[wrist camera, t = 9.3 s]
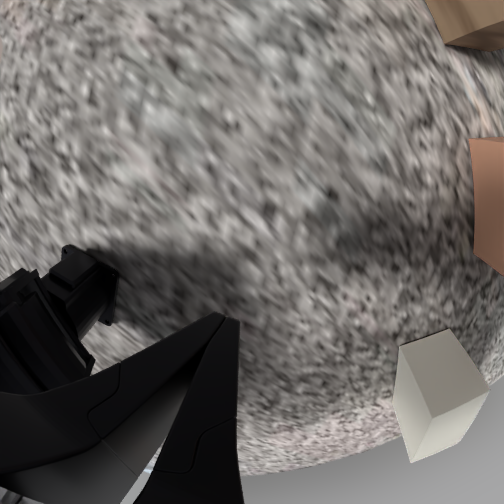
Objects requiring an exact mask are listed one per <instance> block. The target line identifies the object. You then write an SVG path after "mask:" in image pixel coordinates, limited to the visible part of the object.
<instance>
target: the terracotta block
mask: <svg viewBox="0 0 504 504" xmlns="http://www.w3.org/2000/svg"><path fill="white" fill-rule="evenodd" d="M469 144H470V152H471V160H472V170H473V183H474V206H475V227H474V250H473V254H475V255H476V256H478V257H479V258H480V259H482V260H483V261H484V262H486V263H487V264H488V265H490V266H491V267H492V268H493V269H495V270H496V271H497V272H498V273H500V274H501V275H502V276H503V277H504V137H489V138H471V139H469Z"/></svg>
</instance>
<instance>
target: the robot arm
mask: <svg viewBox="0 0 504 504" xmlns="http://www.w3.org/2000/svg"><path fill="white" fill-rule="evenodd" d="M66 250H67V251H66ZM112 274H114V276H115V277H114V276H113V275H112ZM118 282H119V273H118V271H117V270H115V269H113V268H111V267H109V266H107V265H105V264H103V263H101V262H99V261H98V260H96V259H94V258H92V257H90V256H88V255H86V254H84V253H82V252H80V251H78V250H76V249H74V248H72V247H70V246H69V245H65V246H64V247H63V248H62V255H61V261H60V262H59V263H57V264H56V265H55V266H53V267H52V268H50V269H49V273H47V274H46V275H45V276H43V277H42V278H41V279H40V277H39V273H38V271H37V269H35V270H33V271H32V272H31V273H30V272H29V271H26V270H25V269H23V268H21V269H19V270H18V271H16V272H15V273H14V274H12V275H11V276H9V277H8V278H6V279H5V280H3V281H2V282H0V504H120V502H121V501H122V500H123V498H124V497H125V496H126V494H127V493H128V492H129V490H130V489H131V487H132V486H133V484H134V483H135V482H136V480H137V479H138V477H139V476H140V474H141V473H142V472H143V470H144V469H145V467H146V466H147V464H148V463H149V462H150V460H151V459H152V457H153V456H154V454H155V453H156V451H157V450H158V448H159V447H160V445H161V444H162V442H163V441H164V440H165V438H166V437H167V438H166V440H165V442H164V445H163V447H162V449H161V452H160V454H159V456H158V458H157V461H156V463H155V465H154V468H153V471H152V472H151V475H150V477H149V479H148V481H147V483H146V485H145V487H144V488H143V490H142V491H141V493H140V494H139V496H138V497H137V499H136V500H135V501H134V503H133V504H244V498H243V491H242V485H241V479H240V471H239V464H238V454H237V418H236V417H237V400H238V370H239V342H240V321H239V320H237V319H234V318H232V317H226V315H224V314H221V313H218V312H215V311H214V312H211V313H210V314H208V315H206V316H204V317H202V318H201V319H199V320H197V321H195V322H193V323H192V324H190V325H188V326H186V327H184V328H183V329H181V330H179V331H177V332H175V333H173V334H172V335H170V336H168V337H166V338H164V339H162V340H160V341H159V342H157V343H155V344H153V345H151V346H149V347H147V348H145V349H144V350H142V351H140V352H138V353H136V354H134V355H132V356H130V357H128V358H126V359H124V360H123V361H121V364H120V363H117V364H115V365H113V366H111V367H109V368H107V369H104V370H102V371H100V372H98V373H96V374H94V375H91V376H90V374H91V371H92V368H93V366H94V363H95V358H94V357H93V356H92V355H91V354H89V352H88V351H87V350H86V348H85V347H84V346H83V344H82V343H81V342H80V341H81V340H82V339H83V337H84V336H85V335H86V334H87V332H88V331H89V330H90V329H91V328H92V326H93V325H94V324H95V323H96V322H97V320H98V321H99V322H101V323H103V324H105V325H107V326H111V325H112V323H113V319H114V310H115V303H116V296H117V289H118ZM167 435H168V436H167Z"/></svg>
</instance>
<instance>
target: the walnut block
mask: <svg viewBox="0 0 504 504" xmlns="http://www.w3.org/2000/svg"><path fill="white" fill-rule="evenodd" d="M425 2H426V4H427V6H428V8H429V10H430V12H431V14H432V16H433V18H434V20H435V22H436V25H437V27H438V29H439V32H440V34H441V37H442V39H443V42H444V44H449V45H456V46H462V47H468V48H473V49H478V50H482V51H487V52H491V51H495V50H499V49H503V48H504V0H425Z"/></svg>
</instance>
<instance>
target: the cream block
mask: <svg viewBox="0 0 504 504" xmlns="http://www.w3.org/2000/svg"><path fill="white" fill-rule="evenodd" d="M489 392H490V388H489V386H488V384H487V383H486V381H485V380H484V378H483V376H482V375H481V373H480V372H479V370H478V369H477V367H476V365H475V364H474V362H473V361H472V359H471V358H470V357H469V355H468V354H467V352H466V351H465V349H464V348H463V346H462V345H461V344H460V342H459V341H458V339H457V338H456V337H455V335H454V334H453V333H452V331H451V330H450V328H449V329H447V330H444V331H442V332H439V333H436V334H434V335H431V336H428V337H425V338H423V339H420V340H417V341H414V342H411V343H408V344H405V345H402V346H399V355H398V364H397V373H396V380H395V387H394V394H393V400H392V405H393V407H394V410H395V413H396V416H397V420H398V423H399V426H400V429H401V432H402V435H403V439H404V442H405V445H406V449H407V452H408V455H409V459H410V463H413V462H415V461H418V460H421V459H423V458H426V457H428V456H431V455H433V454H435V453H437V452H440V451H442V450H444V449H446V448H449V447H451V446H453V445H455V444H457V443H459V442H460V440H461V439H462V437H463V436H464V434H465V433H466V431H467V430H468V428H469V427H470V425H471V423H472V422H473V420H474V419H475V417H476V415H477V414H478V412H479V410H480V408H481V407H482V405H483V403H484V401H485V399H486V398H487V396H488V394H489Z"/></svg>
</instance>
